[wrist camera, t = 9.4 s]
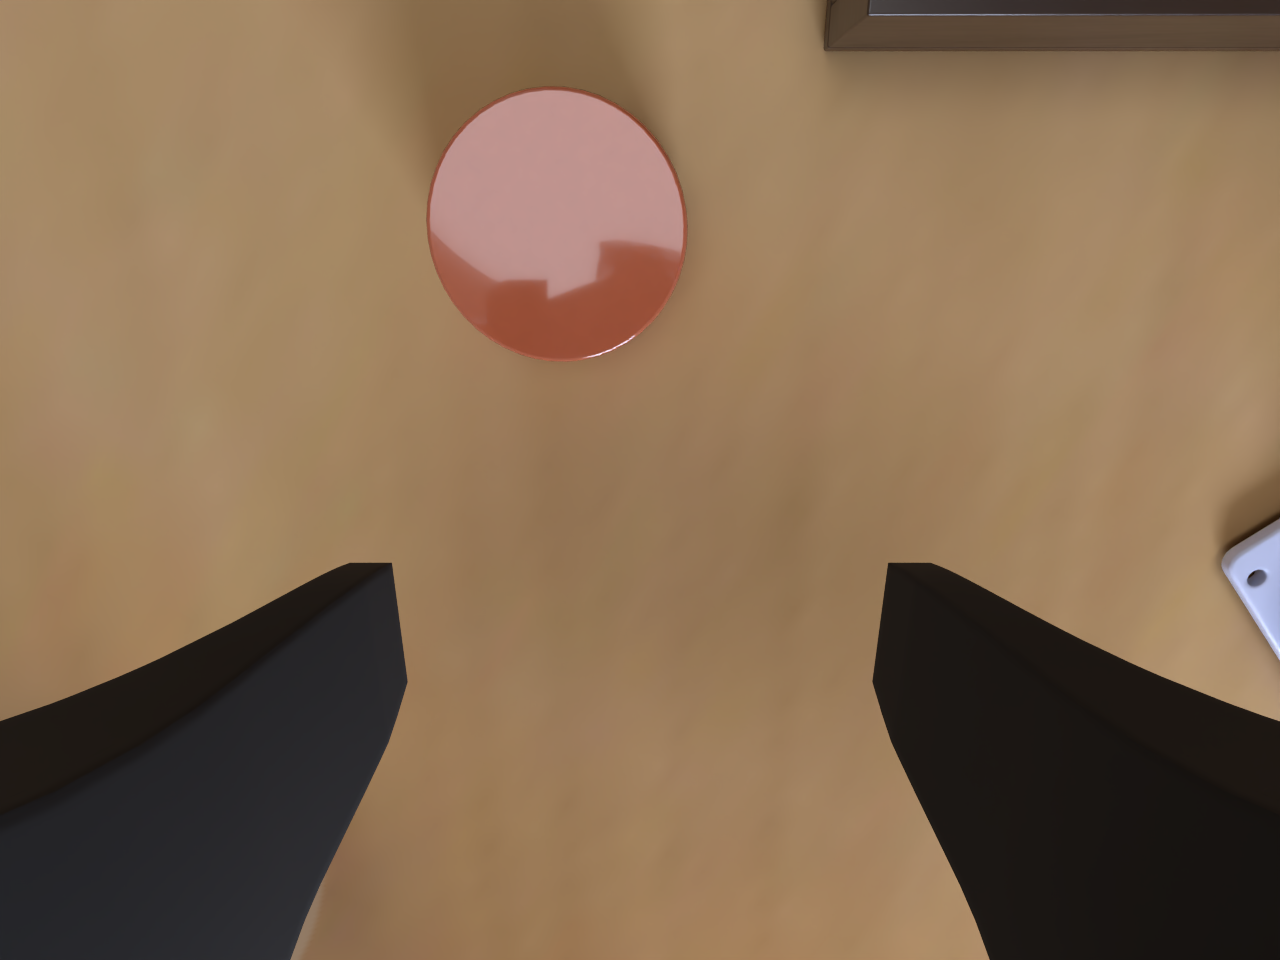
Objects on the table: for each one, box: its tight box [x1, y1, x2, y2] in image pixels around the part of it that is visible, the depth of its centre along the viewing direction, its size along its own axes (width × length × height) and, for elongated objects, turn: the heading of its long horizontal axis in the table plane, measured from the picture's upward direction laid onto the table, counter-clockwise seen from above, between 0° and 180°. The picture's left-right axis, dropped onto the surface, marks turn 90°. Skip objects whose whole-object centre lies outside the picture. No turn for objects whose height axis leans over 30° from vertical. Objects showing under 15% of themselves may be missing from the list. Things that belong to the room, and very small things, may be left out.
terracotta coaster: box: [426, 86, 688, 362], centre depth 17 cm, size 6×6×2 cm
